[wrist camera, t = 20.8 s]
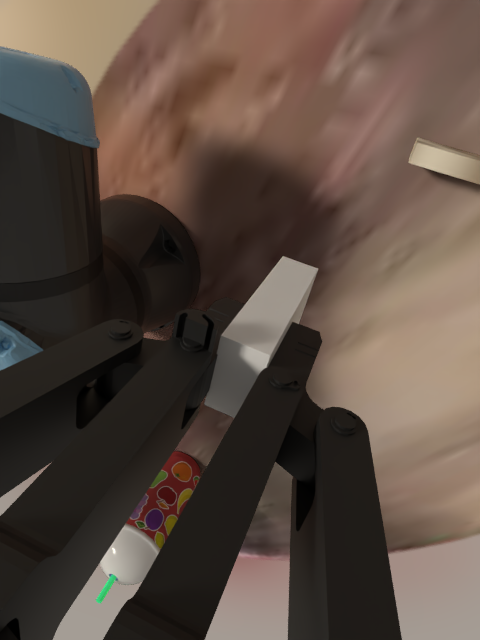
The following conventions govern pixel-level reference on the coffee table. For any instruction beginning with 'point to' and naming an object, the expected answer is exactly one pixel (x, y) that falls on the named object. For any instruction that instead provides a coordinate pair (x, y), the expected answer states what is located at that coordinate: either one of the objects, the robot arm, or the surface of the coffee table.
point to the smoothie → (150, 523)
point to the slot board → (446, 160)
